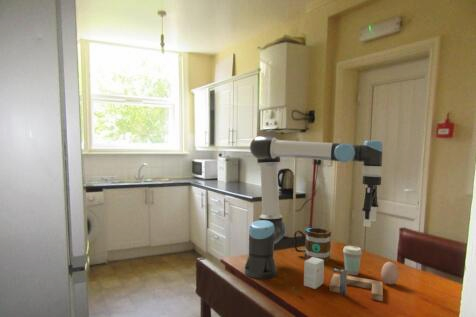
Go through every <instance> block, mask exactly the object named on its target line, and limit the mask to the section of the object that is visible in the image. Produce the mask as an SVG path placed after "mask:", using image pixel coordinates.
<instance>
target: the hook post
mask: <svg viewBox="0 0 476 317" xmlns="http://www.w3.org/2000/svg"><path fill="white" fill-rule="evenodd" d="M332 271H333V273H337V274H340V293H339V296H341V297H345V298H346V297H347V285H346V282H347V276H348V274H347V270H345V268H344V269H343V268H342V269H338V268H337V269H336V268H333V269H332Z"/></svg>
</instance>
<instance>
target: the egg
mask: <svg viewBox="0 0 476 317" xmlns="http://www.w3.org/2000/svg"><path fill="white" fill-rule="evenodd" d="M380 272H381V274H380V276H381V279H382V280H383V281H384V283H385V284H386V285H391V286H392V285H394V284H395V283H397V282H398V279H399V271H398V267H397V266H396V264H394V263H393V262H391V261H387V262H385V263H384V264H383V266H382V268H381V271H380Z"/></svg>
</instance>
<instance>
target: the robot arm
mask: <svg viewBox="0 0 476 317" xmlns="http://www.w3.org/2000/svg"><path fill="white" fill-rule="evenodd" d="M249 149H250V153H251V155H252V156H253V157H254V158H256V160H257V164H258V165H259V167H260V182H261V183H260V185H261V186H260V187H261V188H260V189H261V214H260V215H259V220H255V221H252V222H251V223H250V225H249V228H248V256H247V259H246V262H245V265H244V275H246V276H248V277H250V278H252V279H253V278H255V279H263V280H264V279H271V278H273V277H274V278H275V277H276V276H277V274H278V273H277V272H278V267H277V264H276V261H275V258H274V254H275V253H274V249H275V248H274V246H275V244H276V243H278V242H280V241H282V239H283V238H284V236H285V235H286V234H285V233H286V230H287V229H286V225H285V223H284V221H283V215H282V214H281V212H280V199H279V198H280V196H279V175H278V174H279V173H278V166H279V165H280V163H281V158H293V159H304V160H305V159H306V160H317V161H318V160H319V161H320V160H321V161H332V162H341V163H348V162H357V163H358V162H360V163H361V162H362V163H363V164H362V165H363V166H362V175H363V176H362V184H363V185H366V186H367V187H365V193H364V202H363V208H362V210H361V212H362V211H363V227H368V228H371V225H372V222H377V209H378V208H379V204H378V186H381V185H382V177H381V176H382V172H383V171H384V168H382V166H383V141H381V140H365V141H364V142H363V144H350V143H347V142H346V143H344V142H342V143H339V142H337V143H335V142H324V141H323V142H321V141H301V140H299V141H298V140H282V139H278V138H276V137H274V136H268V135H265V134H264V135H263V134H262V135H259V136H256V137H254V138H253V139H252V140H251V142H250V145H249Z"/></svg>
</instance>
